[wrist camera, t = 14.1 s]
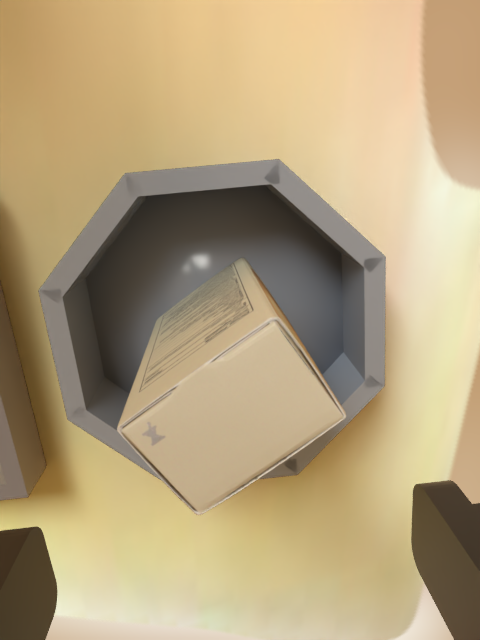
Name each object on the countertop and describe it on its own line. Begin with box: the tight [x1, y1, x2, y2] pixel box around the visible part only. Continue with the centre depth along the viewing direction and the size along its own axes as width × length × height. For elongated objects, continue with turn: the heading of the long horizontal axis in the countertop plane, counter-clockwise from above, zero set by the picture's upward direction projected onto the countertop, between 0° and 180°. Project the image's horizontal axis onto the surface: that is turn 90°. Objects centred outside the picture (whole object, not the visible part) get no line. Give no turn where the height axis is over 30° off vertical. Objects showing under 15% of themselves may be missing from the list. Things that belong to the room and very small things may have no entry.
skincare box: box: [117, 258, 346, 515], centre depth 20 cm, size 6×4×12 cm
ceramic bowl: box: [39, 159, 386, 480], centre depth 24 cm, size 16×16×5 cm
